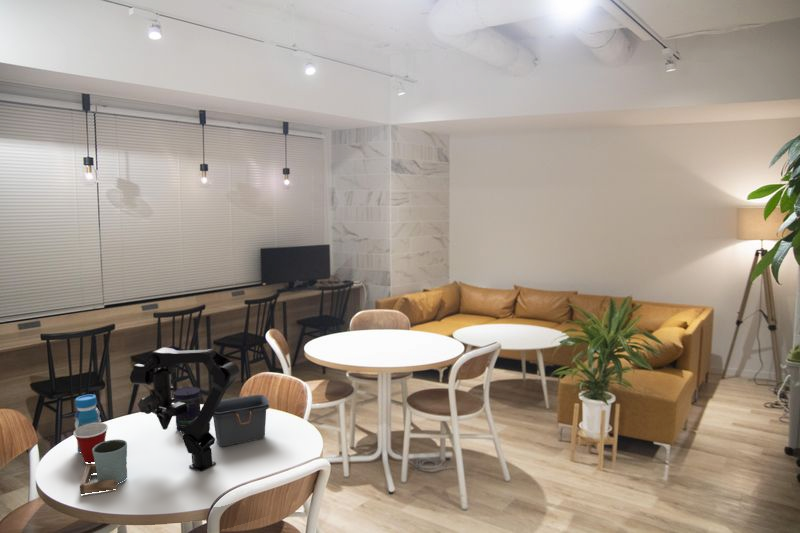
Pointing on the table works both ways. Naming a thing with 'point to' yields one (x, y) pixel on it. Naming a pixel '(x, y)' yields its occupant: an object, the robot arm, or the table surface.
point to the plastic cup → (90, 438)
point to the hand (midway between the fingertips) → (165, 429)
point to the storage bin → (240, 419)
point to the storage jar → (192, 400)
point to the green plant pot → (111, 460)
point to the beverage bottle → (86, 411)
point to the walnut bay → (95, 486)
